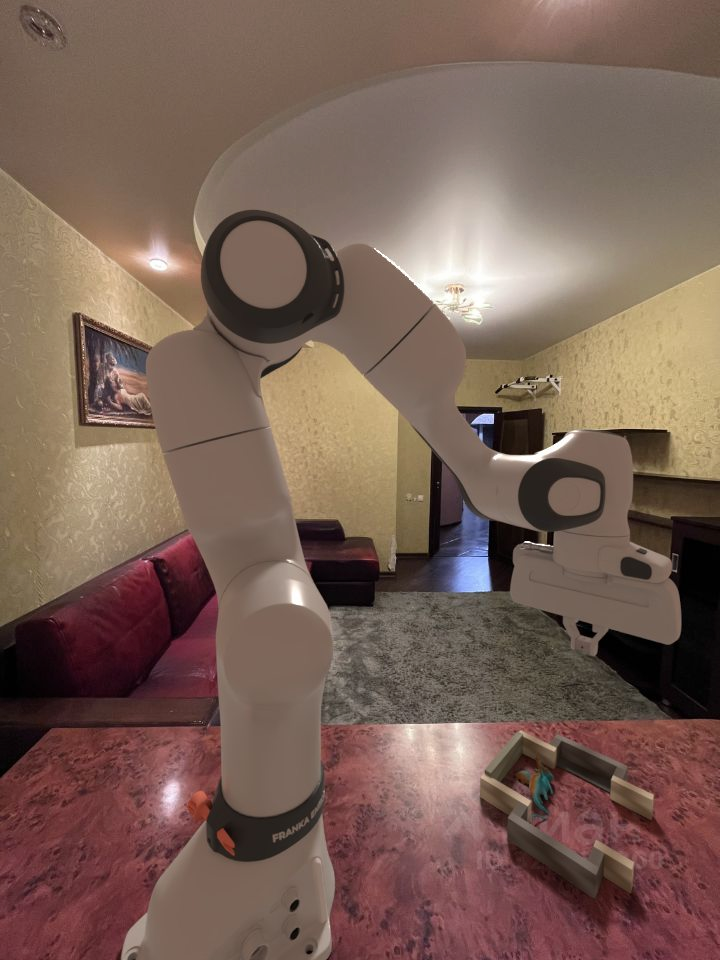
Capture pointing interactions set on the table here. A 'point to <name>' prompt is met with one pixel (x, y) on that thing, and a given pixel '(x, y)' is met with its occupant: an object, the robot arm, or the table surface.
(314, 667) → the robot arm
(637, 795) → the channel
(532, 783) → the dragon figurine
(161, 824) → the table surface
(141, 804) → the table surface
